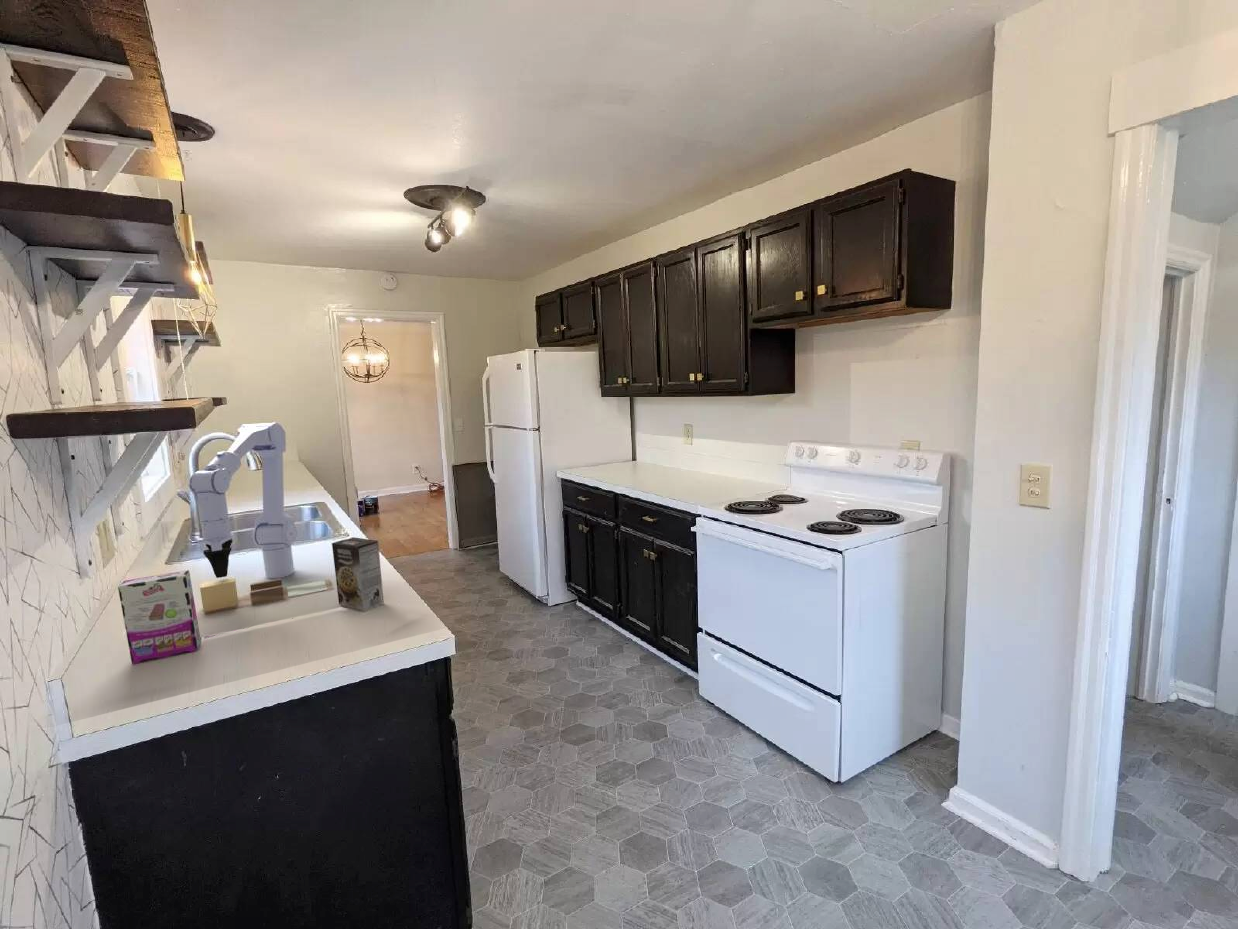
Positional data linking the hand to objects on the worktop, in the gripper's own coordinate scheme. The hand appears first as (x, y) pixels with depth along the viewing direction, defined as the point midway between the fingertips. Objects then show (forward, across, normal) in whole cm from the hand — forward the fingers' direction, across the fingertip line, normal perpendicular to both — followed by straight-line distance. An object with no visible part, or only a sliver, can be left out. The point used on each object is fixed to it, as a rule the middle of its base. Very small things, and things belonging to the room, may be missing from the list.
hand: (222, 573), depth 148 cm
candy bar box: (+9, +24, -10) cm, 27 cm away
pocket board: (+9, 0, +10) cm, 13 cm away
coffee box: (+9, +20, +28) cm, 36 cm away
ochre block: (+8, 0, -1) cm, 8 cm away
